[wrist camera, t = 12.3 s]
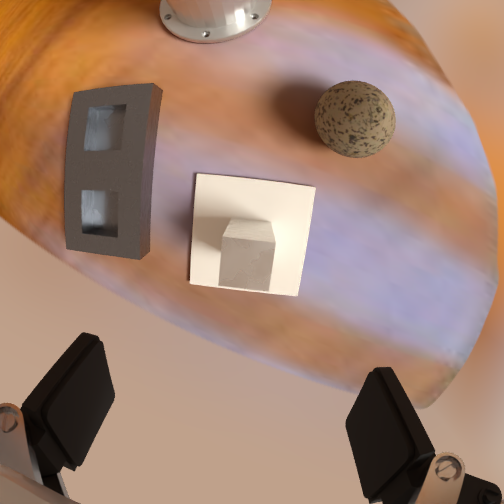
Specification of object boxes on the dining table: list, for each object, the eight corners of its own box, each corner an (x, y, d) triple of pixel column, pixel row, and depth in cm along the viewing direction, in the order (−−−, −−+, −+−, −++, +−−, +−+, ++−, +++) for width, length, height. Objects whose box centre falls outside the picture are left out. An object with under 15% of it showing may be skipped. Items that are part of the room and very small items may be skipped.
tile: (198, 173, 28) (196, 173, 27) (314, 186, 28) (315, 187, 28) (191, 281, 32) (189, 283, 31) (296, 293, 32) (297, 296, 31)
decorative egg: (318, 165, 28) (348, 165, 18) (298, 100, 26) (317, 70, 16) (379, 151, 27) (429, 148, 17) (360, 89, 25) (402, 61, 15)
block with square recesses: (87, 96, 25) (73, 92, 22) (162, 90, 25) (153, 83, 22) (79, 242, 30) (66, 249, 28) (149, 251, 31) (139, 259, 28)
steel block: (231, 217, 29) (222, 236, 21) (271, 222, 29) (276, 242, 21) (228, 254, 30) (218, 285, 22) (266, 259, 30) (268, 291, 22)
